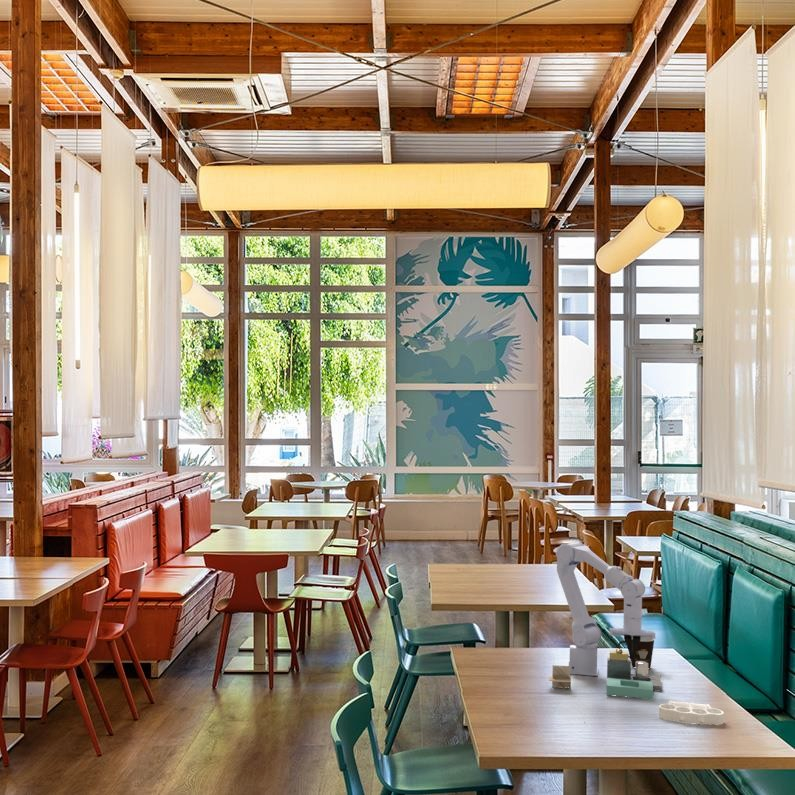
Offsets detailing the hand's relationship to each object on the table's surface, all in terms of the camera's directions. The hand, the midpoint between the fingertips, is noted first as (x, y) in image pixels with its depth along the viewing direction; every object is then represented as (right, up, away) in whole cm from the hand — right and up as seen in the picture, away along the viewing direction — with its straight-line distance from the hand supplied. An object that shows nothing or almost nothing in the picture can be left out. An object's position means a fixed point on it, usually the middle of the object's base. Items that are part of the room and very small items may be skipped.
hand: (631, 658), depth 293 cm
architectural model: (-25, -8, -8) cm, 27 cm away
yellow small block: (-4, 0, +1) cm, 4 cm away
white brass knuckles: (+8, -8, -33) cm, 35 cm away
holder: (-4, -8, -11) cm, 14 cm away
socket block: (+1, -8, 0) cm, 8 cm away
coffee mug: (+7, -9, +21) cm, 24 cm away
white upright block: (+3, -8, -1) cm, 9 cm away
